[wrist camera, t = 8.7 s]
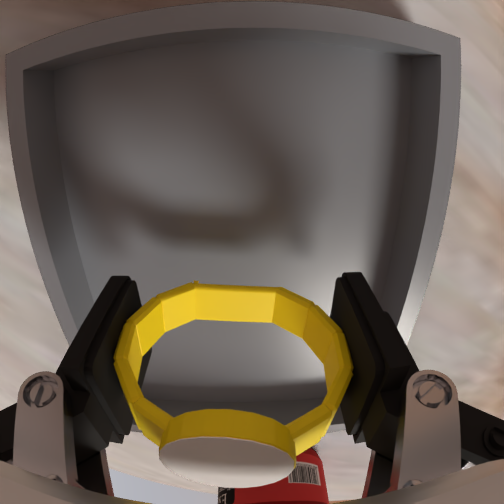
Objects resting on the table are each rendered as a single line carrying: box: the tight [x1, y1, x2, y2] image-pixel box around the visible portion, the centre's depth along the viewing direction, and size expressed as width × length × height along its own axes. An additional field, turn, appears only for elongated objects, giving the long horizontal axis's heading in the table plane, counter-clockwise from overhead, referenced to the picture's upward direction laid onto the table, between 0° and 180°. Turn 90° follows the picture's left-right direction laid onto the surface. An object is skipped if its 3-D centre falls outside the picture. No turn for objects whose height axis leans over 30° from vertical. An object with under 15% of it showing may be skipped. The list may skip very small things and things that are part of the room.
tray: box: [6, 1, 461, 433], centre depth 11 cm, size 14×18×2 cm
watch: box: [113, 280, 354, 488], centre depth 8 cm, size 6×3×6 cm, turn 86°
